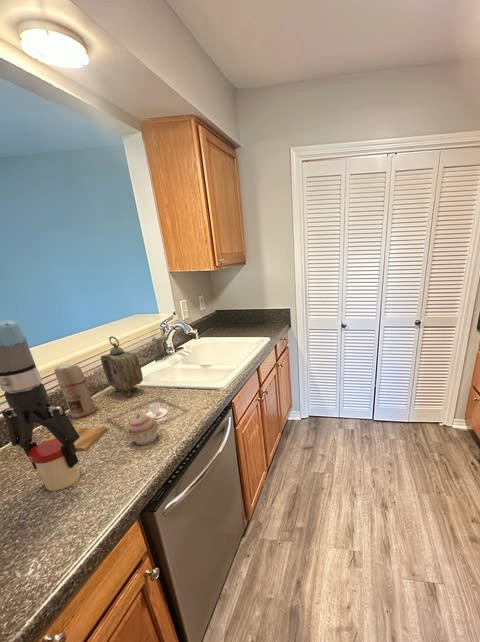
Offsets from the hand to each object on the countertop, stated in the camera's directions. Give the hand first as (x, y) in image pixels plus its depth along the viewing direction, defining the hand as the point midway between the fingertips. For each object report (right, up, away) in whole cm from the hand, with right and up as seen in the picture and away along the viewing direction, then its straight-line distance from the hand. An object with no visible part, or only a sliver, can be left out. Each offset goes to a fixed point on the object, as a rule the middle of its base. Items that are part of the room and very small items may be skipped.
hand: (56, 465), depth 85 cm
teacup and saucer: (+8, +9, +34) cm, 36 cm away
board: (-10, +3, +21) cm, 23 cm away
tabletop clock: (-10, +18, +55) cm, 59 cm away
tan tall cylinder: (-19, +10, +39) cm, 44 cm away
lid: (0, +5, -2) cm, 5 cm away
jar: (0, -5, +2) cm, 5 cm away
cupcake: (+15, +3, +19) cm, 24 cm away
